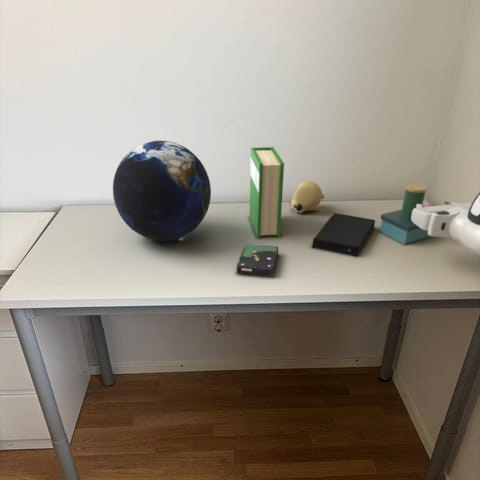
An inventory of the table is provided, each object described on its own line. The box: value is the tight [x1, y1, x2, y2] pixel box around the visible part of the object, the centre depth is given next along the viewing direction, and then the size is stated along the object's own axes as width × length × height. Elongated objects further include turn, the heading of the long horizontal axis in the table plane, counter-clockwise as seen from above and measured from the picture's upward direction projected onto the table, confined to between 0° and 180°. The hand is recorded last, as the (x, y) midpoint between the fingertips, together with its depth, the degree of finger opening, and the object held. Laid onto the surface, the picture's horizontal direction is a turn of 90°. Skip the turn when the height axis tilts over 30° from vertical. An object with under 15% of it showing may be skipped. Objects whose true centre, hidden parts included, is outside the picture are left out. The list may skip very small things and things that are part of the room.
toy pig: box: [289, 180, 326, 214], centre depth 183 cm, size 10×12×11 cm
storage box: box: [379, 208, 433, 245], centre depth 168 cm, size 14×12×6 cm
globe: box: [112, 140, 212, 242], centre depth 158 cm, size 30×30×30 cm
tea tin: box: [401, 182, 427, 220], centre depth 163 cm, size 6×6×10 cm
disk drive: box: [236, 244, 279, 277], centre depth 150 cm, size 10×3×15 cm
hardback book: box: [249, 146, 285, 239], centre depth 167 cm, size 18×7×24 cm, turn 7°
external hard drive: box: [311, 212, 376, 257], centre depth 166 cm, size 14×23×3 cm, turn 155°
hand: (432, 204), depth 153 cm, fingers open, 8 cm apart
